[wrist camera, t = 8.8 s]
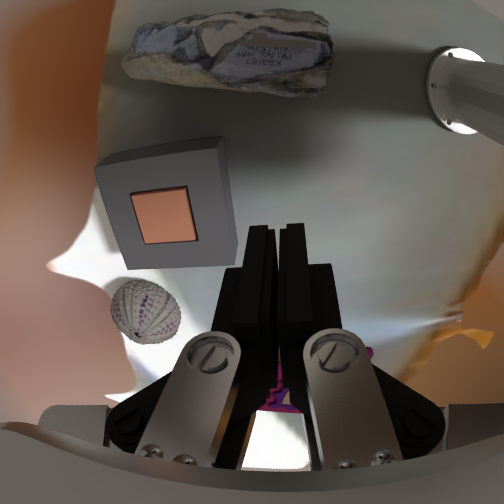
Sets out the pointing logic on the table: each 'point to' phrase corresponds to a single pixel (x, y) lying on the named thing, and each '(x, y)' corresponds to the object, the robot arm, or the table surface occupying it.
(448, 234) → the table surface
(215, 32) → the fossil rock
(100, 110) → the table surface
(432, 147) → the table surface
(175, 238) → the button
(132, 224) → the button box
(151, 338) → the sea urchin shell
